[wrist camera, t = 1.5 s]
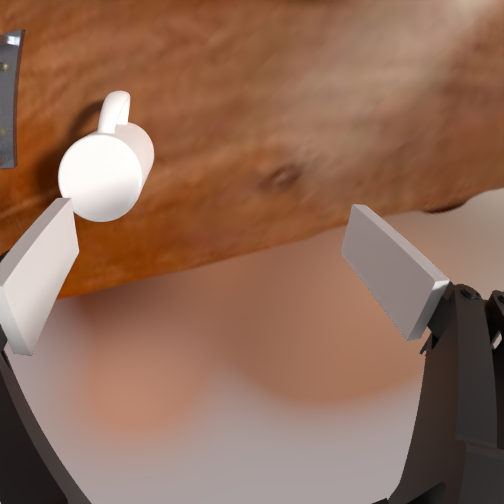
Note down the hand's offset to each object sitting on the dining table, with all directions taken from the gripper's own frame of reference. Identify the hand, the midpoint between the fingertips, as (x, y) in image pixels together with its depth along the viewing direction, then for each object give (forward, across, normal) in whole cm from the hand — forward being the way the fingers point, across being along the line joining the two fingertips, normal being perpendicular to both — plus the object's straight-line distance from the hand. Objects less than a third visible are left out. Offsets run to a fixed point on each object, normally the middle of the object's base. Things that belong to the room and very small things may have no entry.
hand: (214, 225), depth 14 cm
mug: (+25, -9, 0) cm, 26 cm away
